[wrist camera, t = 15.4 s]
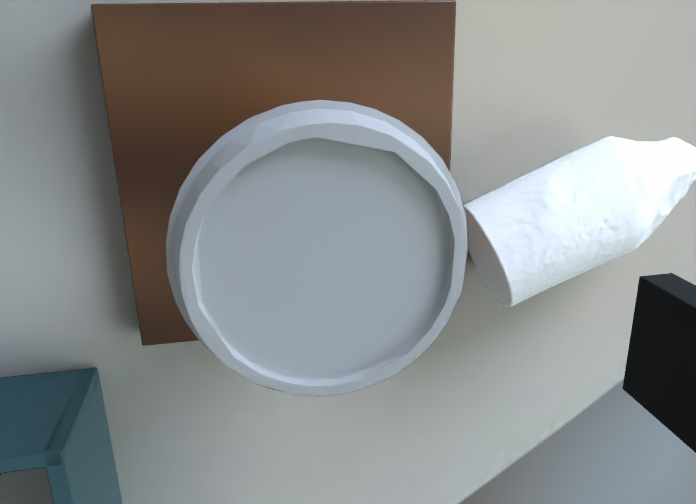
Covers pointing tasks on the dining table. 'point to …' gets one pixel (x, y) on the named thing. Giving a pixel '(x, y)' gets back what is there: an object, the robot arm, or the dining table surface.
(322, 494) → the dining table surface
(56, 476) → the teal open box
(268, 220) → the disposable coffee cup
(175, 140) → the board
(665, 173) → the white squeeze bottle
